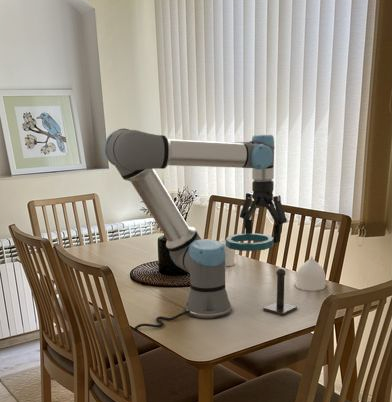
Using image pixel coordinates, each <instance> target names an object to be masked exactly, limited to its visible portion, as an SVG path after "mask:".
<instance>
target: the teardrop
mask: <svg viewBox="0 0 392 402" xmlns="http://www.w3.org/2000/svg"><path fill="white" fill-rule="evenodd" d="M325 272H326V271H325V270H324V267H323V266H322V265H320V264H319V263H318V262H317V261H316V260H315V259H314V257H313V255H311V256H310V258H309V259H308V260H306V261H305V262H303V263H302V264H301V265H300V266H299V268H298V269H297V272H296V278H295V287H296V288H297V289H299V290H300V291H301V290H302V291H309V292H313V291H314V292H315V291H317V292H318V291H321V290H324V289H326V273H325Z"/></svg>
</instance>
